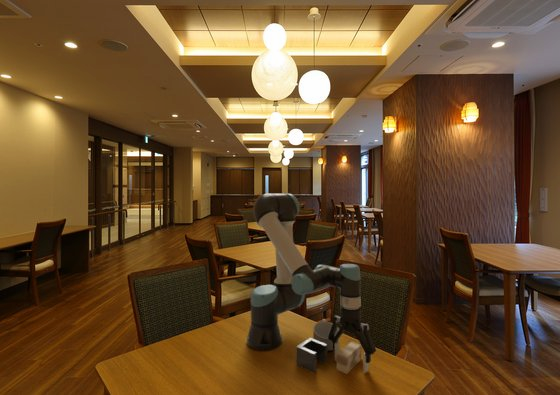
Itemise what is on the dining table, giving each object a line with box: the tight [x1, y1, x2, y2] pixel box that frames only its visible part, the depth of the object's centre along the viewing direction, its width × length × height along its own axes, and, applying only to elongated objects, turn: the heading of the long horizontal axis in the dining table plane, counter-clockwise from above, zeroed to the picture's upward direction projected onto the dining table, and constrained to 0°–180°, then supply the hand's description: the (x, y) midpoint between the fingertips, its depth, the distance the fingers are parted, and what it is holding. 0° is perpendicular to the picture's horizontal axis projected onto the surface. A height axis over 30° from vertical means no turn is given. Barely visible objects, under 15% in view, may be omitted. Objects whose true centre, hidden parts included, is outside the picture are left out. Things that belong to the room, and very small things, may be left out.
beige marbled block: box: [336, 340, 362, 375], centre depth 112 cm, size 12×4×6 cm, turn 139°
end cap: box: [295, 337, 328, 374], centre depth 113 cm, size 8×9×7 cm
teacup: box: [312, 318, 340, 352], centre depth 125 cm, size 14×11×8 cm
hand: (351, 364), depth 111 cm, fingers open, 11 cm apart
